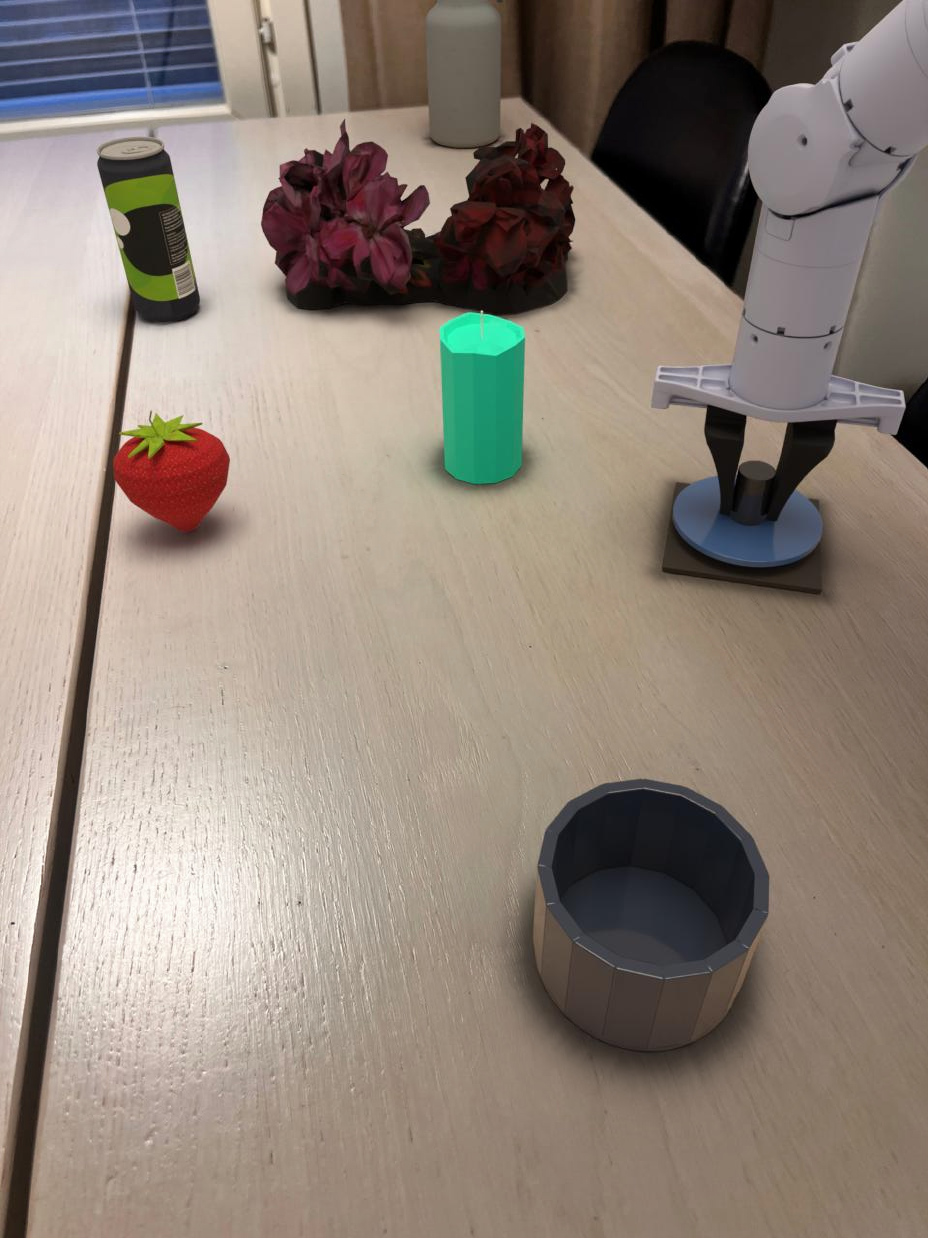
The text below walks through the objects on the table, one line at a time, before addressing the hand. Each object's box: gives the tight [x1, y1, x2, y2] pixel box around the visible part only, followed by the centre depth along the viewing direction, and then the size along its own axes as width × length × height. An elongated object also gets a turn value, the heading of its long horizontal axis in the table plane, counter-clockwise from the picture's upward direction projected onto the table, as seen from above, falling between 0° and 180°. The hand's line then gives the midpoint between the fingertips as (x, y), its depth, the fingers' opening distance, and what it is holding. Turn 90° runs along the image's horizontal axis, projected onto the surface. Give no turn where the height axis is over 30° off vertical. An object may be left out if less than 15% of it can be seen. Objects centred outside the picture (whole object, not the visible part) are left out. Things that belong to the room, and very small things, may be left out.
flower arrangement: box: [260, 118, 576, 316], centre depth 91 cm, size 31×20×15 cm, turn 99°
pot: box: [532, 778, 770, 1052], centre depth 41 cm, size 9×9×6 cm
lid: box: [671, 459, 824, 567], centre depth 63 cm, size 10×10×5 cm
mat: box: [661, 481, 823, 595], centre depth 65 cm, size 10×10×1 cm
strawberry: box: [112, 410, 231, 533], centre depth 63 cm, size 6×8×10 cm
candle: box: [439, 311, 526, 485], centre depth 68 cm, size 6×6×12 cm
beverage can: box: [96, 136, 201, 324], centre depth 88 cm, size 6×6×15 cm
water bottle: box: [425, 0, 504, 149], centre depth 122 cm, size 10×10×28 cm
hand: (748, 509), depth 63 cm, fingers closed on lid, 2 cm apart
